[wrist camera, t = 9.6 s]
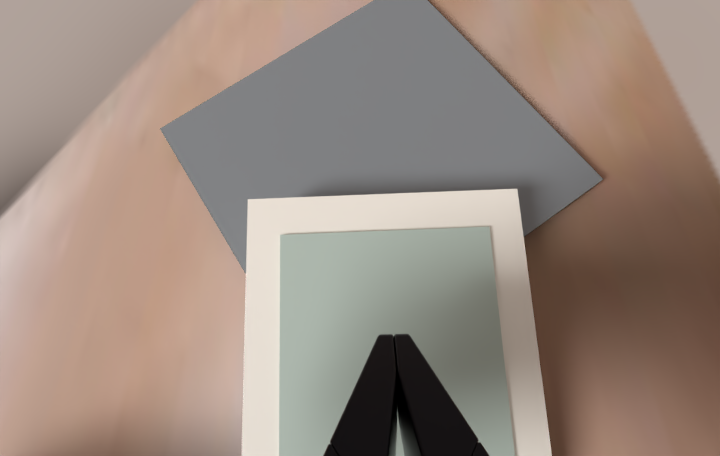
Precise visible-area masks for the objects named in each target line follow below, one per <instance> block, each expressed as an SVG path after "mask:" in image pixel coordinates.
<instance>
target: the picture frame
mask: <svg viewBox="0 0 720 456" xmlns="http://www.w3.org/2000/svg"><path fill="white" fill-rule="evenodd" d="M380 334H392V335H393V336H394V335H395V334H409V335H410V336H411V337H412V339H413V341H414V342H415V344H416V345H417V347H418V348H419V350H420V351H421V353H422V354H423V356H424V357H425V359H426V360H427V362H428V363H429V365H430V366H431V368H432V369H433V371H434V372H435V374H436V375H437V377H438V379H439V380H440V382H441V383H442V385H443V386H444V388H445V389H446V391H447V392H448V394H449V395H450V397H451V398H452V400H453V401H454V403H455V404H456V406H457V407H458V409H459V410H460V412H461V413H462V415H463V417H464V418H465V420H466V421H467V423H468V424H469V426H470V427H471V429H472V430H473V432H474V433H475V435H476V436H477V438H478V440H479V441H478V442H480V443H481V444H482V445H483V447H484V448H485V450H486V451H487V453H488V454H489V456H552V452H551V445H550V437H549V429H548V421H547V414H546V406H545V398H544V391H543V383H542V375H541V367H540V360H539V352H538V344H537V337H536V329H535V321H534V313H533V306H532V298H531V290H530V283H529V275H528V267H527V259H526V252H525V244H524V236H523V229H522V221H521V213H520V205H519V198H518V190H517V189H497V190H471V191H446V192H420V193H395V194H369V195H344V196H318V197H293V198H267V199H248V210H247V251H246V293H245V335H244V376H243V418H242V456H323V455H324V453H325V450H326V448H327V446H328V444H330V440H331V438H332V435H333V433H334V431H335V429H336V427H337V424H338V422H339V420H340V418H341V416H342V413H343V411H344V409H345V407H346V405H347V402H348V400H349V398H350V396H351V394H352V391H353V389H354V387H355V385H356V383H357V380H358V378H359V376H360V374H361V372H362V369H363V367H364V365H365V363H366V361H367V358H368V356H369V354H370V352H371V350H372V347H373V345H374V343H375V341H376V339H377V337H378V335H380ZM396 456H404V450H403V444H402V439H401V433H400V427H399V421H398V411H397V442H396Z"/></svg>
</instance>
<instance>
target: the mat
mask: <svg viewBox="0 0 720 456" xmlns="http://www.w3.org/2000/svg"><path fill="white" fill-rule="evenodd" d="M160 129H161V131H162V133H163V135H164V136H165V138H166V140H167V141H168V143H169V145H170V146H171V148H172V150H173V151H174V153H175V155H176V157H177V158H178V160H179V162H180V163H181V165H182V167H183V168H184V170H185V172H186V173H187V175H188V177H189V179H190V180H191V182H192V184H193V185H194V187H195V189H196V190H197V192H198V194H199V196H200V197H201V199H202V201H203V202H204V204H205V206H206V207H207V209H208V211H209V212H210V214H211V216H212V218H213V219H214V221H215V223H216V224H217V226H218V228H219V229H220V231H221V233H222V234H223V236H224V238H225V240H226V241H227V243H228V245H229V246H230V248H231V250H232V251H233V253H234V255H235V256H236V258H237V260H238V262H239V263H240V265H241V267H242V268H243V270H244V272H245V273H246V251H247V210H248V199H267V198H293V197H318V196H344V195H369V194H395V193H420V192H446V191H471V190H497V189H517V190H518V198H519V205H520V213H521V221H522V229H523V236H526V235H527V234H528V233H530V232H531V231H533V230H534V229H535V228H537V227H538V226H540V225H541V224H542V223H544V222H545V221H546V220H548V219H549V218H551V217H552V216H553V215H555V214H556V213H557V212H559V211H560V210H562V209H563V208H564V207H566V206H567V205H569V204H570V203H571V202H573V201H574V200H575V199H577V198H578V197H580V196H581V195H582V194H584V193H585V192H587V191H588V190H589V189H591V188H592V187H593V186H595V185H596V184H598V183H599V182H600V181H602V180H603V178H602V177H601V176H600V175H599V174H598V173H597V172H596V171H595V170H594V169H593V168H592V167H591V166H590V165H589V164H588V163H587V162H586V161H585V160H584V159H583V158H582V157H581V156H580V155H579V154H578V153H577V152H576V151H575V150H574V149H573V148H572V147H571V146H570V145H569V144H568V143H567V142H566V141H565V140H564V139H563V138H562V137H561V136H560V135H559V134H558V133H557V132H556V131H555V129H554V128H553V127H552V126H551V125H550V124H549V123H548V122H547V121H546V120H545V119H544V118H543V117H542V116H541V115H540V114H539V113H538V112H537V111H536V110H535V109H534V108H533V107H532V106H531V105H530V104H529V103H528V102H527V101H526V100H525V99H524V98H523V97H522V96H521V95H520V94H519V93H518V92H517V91H516V90H515V89H514V88H513V87H512V86H511V85H510V84H509V83H508V82H507V81H506V80H505V79H504V78H503V77H502V76H501V75H500V74H499V73H498V71H497V70H496V69H495V68H494V67H493V66H492V65H491V64H490V63H489V62H488V61H487V60H486V59H485V58H484V57H483V56H482V55H481V54H480V53H479V52H478V51H477V50H476V49H475V48H474V47H473V46H472V45H471V44H470V43H469V42H468V41H467V40H466V39H465V38H464V37H463V36H462V35H461V34H460V33H459V32H458V31H457V30H456V29H455V28H454V27H453V26H452V25H451V24H450V23H449V22H448V21H447V20H446V19H445V18H444V17H443V16H442V14H441V13H440V12H439V11H438V10H437V9H436V8H435V7H434V6H433V5H432V4H431V3H430V2H429V1H428V0H374V1H372V2H370V3H369V4H367V5H365V6H364V7H362V8H360V9H359V10H357V11H355V12H354V13H352V14H350V15H349V16H347V17H345V18H344V19H342V20H340V21H339V22H337V23H335V24H334V25H332V26H330V27H329V28H327V29H325V30H324V31H322V32H320V33H319V34H317V35H315V36H314V37H312V38H310V39H309V40H307V41H305V42H304V43H302V44H300V45H299V46H297V47H295V48H294V49H292V50H290V51H289V52H287V53H285V54H284V55H282V56H280V57H279V58H277V59H275V60H274V61H272V62H270V63H269V64H267V65H265V66H264V67H262V68H260V69H259V70H257V71H255V72H254V73H252V74H250V75H249V76H247V77H245V78H244V79H242V80H240V81H239V82H237V83H235V84H234V85H232V86H230V87H229V88H227V89H225V90H224V91H222V92H220V93H219V94H217V95H215V96H214V97H212V98H210V99H209V100H207V101H205V102H204V103H202V104H200V105H199V106H197V107H195V108H194V109H192V110H190V111H189V112H187V113H185V114H184V115H182V116H180V117H179V118H177V119H175V120H174V121H172V122H170V123H169V124H167V125H165V126H164V127H162V128H160Z"/></svg>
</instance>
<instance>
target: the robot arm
mask: <svg viewBox="0 0 720 456" xmlns="http://www.w3.org/2000/svg"><path fill="white" fill-rule="evenodd" d="M397 411H398V421H399V427H400V433H401V439H402V444H403V450H404V456H489V454H488V453H487V451H486V450H485V448H484V447H483V445H482V444H481V443H480V442H478V441H479V440H478V438H477V436H476V435H475V433H474V432H473V430H472V429H471V427H470V426H469V424H468V423H467V421H466V420H465V418H464V417H463V415H462V413H461V412H460V410H459V409H458V407H457V406H456V404H455V403H454V401H453V400H452V398H451V397H450V395H449V394H448V392H447V391H446V389H445V388H444V386H443V385H442V383H441V382H440V380H439V379H438V377H437V375H436V374H435V372H434V371H433V369H432V368H431V366H430V365H429V363H428V362H427V360H426V359H425V357H424V356H423V354H422V353H421V351H420V350H419V348H418V347H417V345H416V344H415V342H414V341H413V339H412V337H411V336H410V335H409V334H395V335H394V336H393V335H392V334H380V335H378V337H377V339H376V341H375V343H374V345H373V347H372V350H371V352H370V354H369V356H368V358H367V361H366V363H365V365H364V367H363V369H362V372H361V374H360V376H359V378H358V380H357V383H356V385H355V387H354V389H353V391H352V394H351V396H350V398H349V400H348V402H347V405H346V407H345V409H344V411H343V413H342V416H341V418H340V420H339V422H338V424H337V427H336V429H335V431H334V433H333V435H332V438H331V440H330V444H328V446H327V448H326V450H325V453H324V455H323V456H396V442H397Z"/></svg>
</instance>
